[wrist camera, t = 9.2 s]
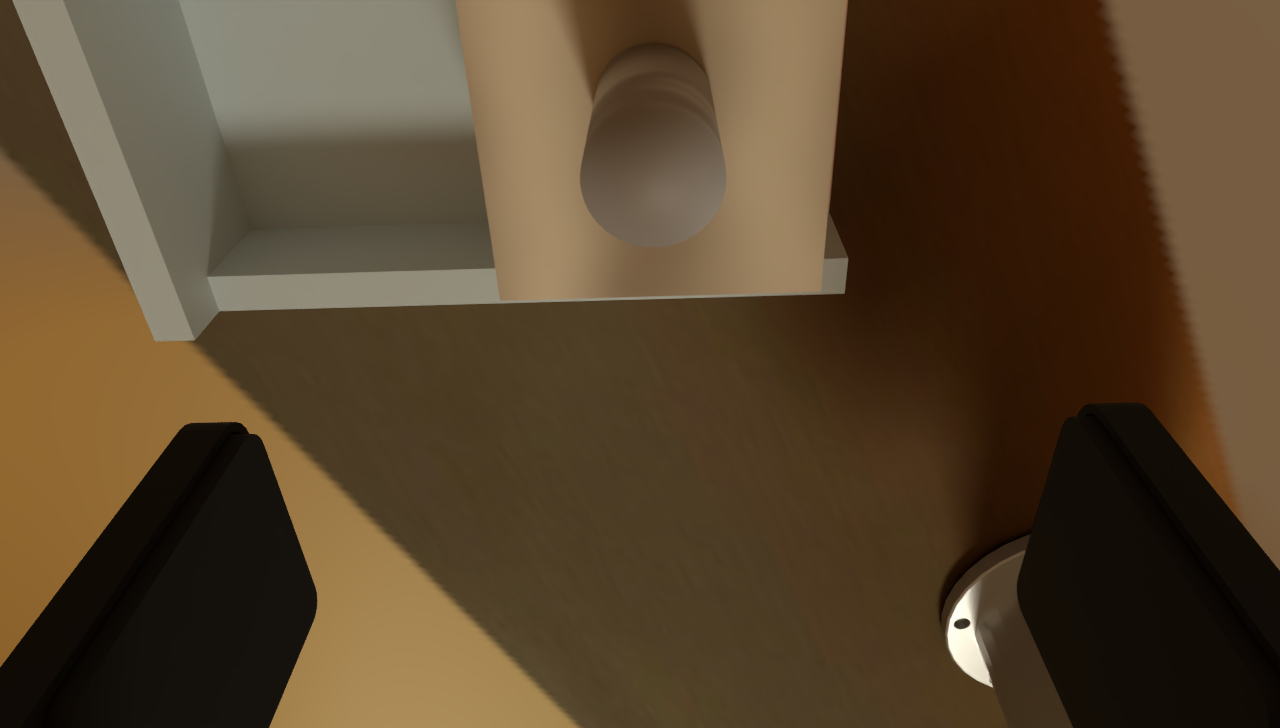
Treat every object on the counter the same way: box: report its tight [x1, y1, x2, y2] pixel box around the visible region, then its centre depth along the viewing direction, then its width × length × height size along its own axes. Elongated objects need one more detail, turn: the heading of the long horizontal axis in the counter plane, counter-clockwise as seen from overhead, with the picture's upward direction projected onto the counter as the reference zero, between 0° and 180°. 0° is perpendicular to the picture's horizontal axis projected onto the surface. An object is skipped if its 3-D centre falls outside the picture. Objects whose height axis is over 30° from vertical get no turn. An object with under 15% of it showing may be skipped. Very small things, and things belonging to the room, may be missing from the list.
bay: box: [13, 0, 848, 341], centre depth 28 cm, size 24×16×7 cm, turn 92°
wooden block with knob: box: [455, 0, 847, 301], centre depth 24 cm, size 10×12×13 cm
